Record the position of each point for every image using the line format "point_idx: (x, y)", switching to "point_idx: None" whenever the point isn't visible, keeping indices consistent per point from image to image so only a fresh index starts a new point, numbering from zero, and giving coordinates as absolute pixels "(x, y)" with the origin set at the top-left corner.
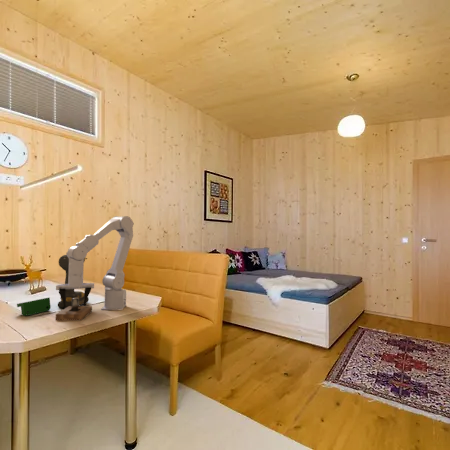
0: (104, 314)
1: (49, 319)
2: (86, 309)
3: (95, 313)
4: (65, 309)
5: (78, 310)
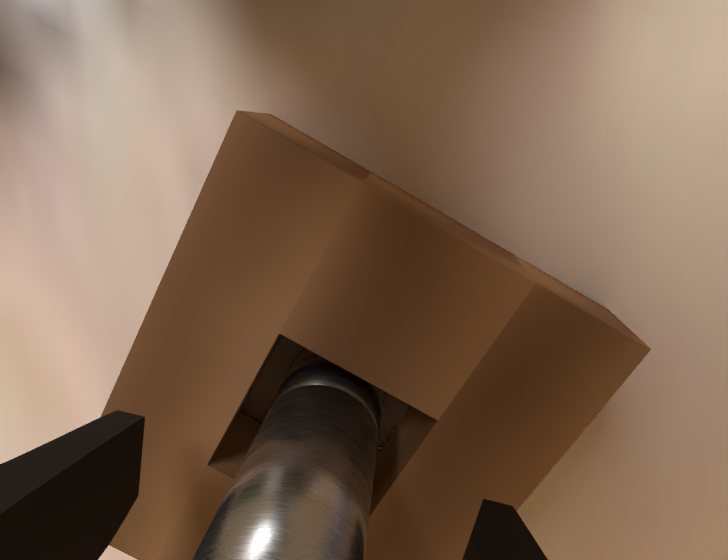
0: (725, 519)
1: (37, 389)
2: (499, 498)
3: (630, 413)
4: (175, 333)
5: (377, 443)
